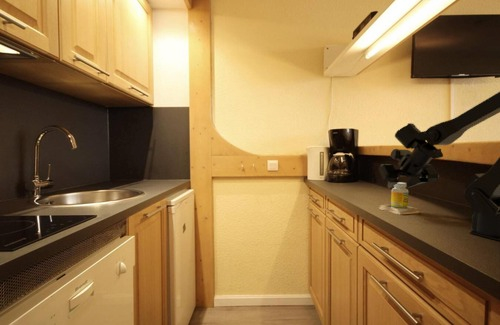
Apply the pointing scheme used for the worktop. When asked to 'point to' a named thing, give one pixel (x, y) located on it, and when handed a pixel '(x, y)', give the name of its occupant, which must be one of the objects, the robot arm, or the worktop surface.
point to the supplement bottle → (399, 197)
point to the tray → (406, 211)
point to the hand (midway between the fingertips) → (397, 187)
